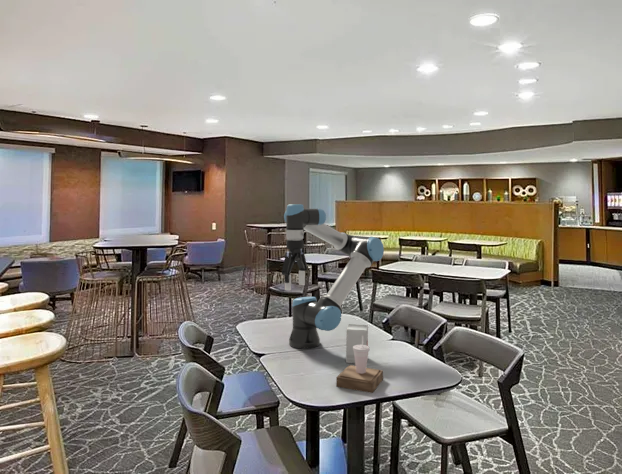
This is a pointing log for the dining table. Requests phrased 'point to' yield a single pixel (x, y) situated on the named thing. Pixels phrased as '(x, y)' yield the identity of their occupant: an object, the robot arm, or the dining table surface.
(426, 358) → the dining table surface
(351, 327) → the supplement box
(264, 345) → the dining table surface
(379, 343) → the dining table surface
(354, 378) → the walnut tray
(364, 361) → the smoothie
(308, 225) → the robot arm
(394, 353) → the dining table surface
